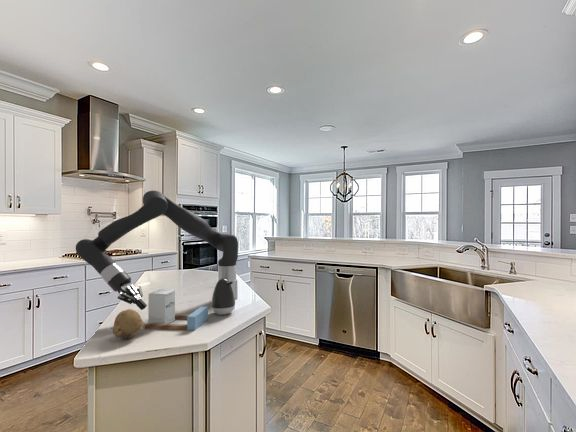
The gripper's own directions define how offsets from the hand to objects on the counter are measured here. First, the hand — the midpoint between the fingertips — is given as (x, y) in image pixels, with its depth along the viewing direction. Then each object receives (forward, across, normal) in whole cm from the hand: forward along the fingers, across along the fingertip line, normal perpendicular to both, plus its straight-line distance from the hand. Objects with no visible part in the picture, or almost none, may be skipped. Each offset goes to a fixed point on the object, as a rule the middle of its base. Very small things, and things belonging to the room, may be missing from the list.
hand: (144, 307), depth 122 cm
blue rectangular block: (+20, 0, +12) cm, 23 cm away
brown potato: (+7, +16, -2) cm, 17 cm away
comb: (+13, 0, +5) cm, 14 cm away
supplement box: (+10, 0, +1) cm, 10 cm away
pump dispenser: (+24, -14, +16) cm, 32 cm away
